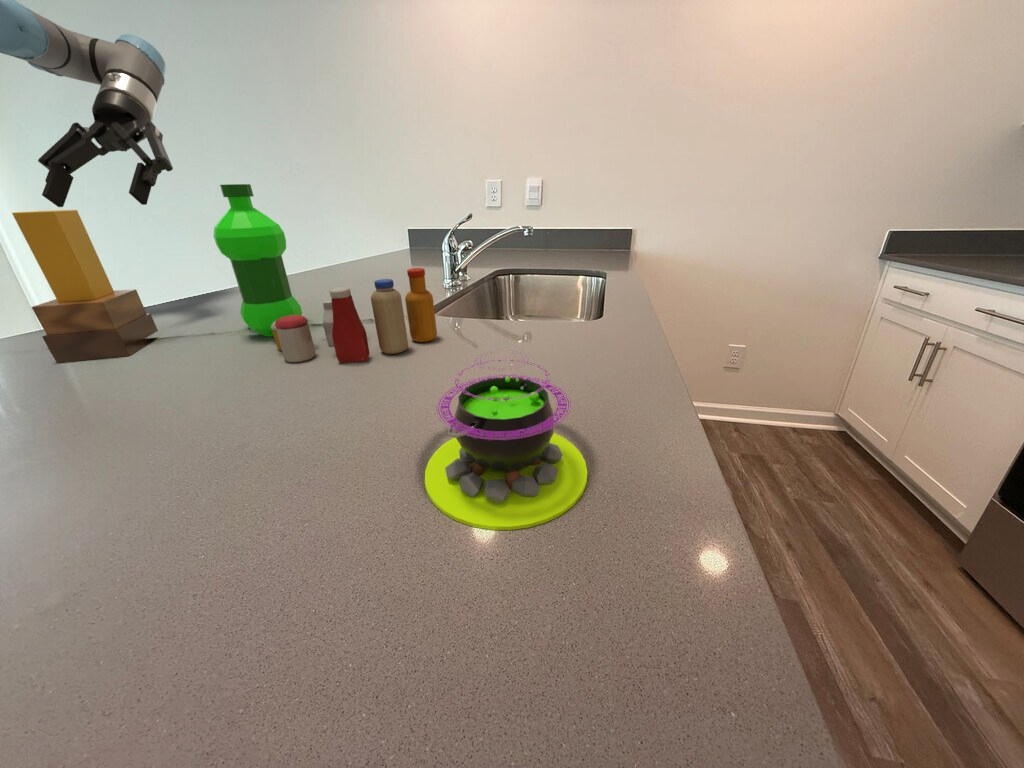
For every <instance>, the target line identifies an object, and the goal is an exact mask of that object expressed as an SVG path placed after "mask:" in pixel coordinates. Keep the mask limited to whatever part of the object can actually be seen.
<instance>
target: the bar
mask: <svg viewBox="0 0 1024 768" xmlns="http://www.w3.org/2000/svg"><path fill="white" fill-rule="evenodd" d="M11 215H12V216H13V218H14V220H15V222H16V224H17V227H18V228H19V229H20V232H21V234H22V235H23V237H24V240H25V241H26V243H27V245H28V247H29V249H30V251H31V253H32V254H33V256H34V258H35V260H36V262H37V264H38V266H39V268H40V270H41V272H42V274H43V276H44V278H45V280H46V282H47V283H48V286H49V288H50V290H51V291H52V293H53V295H54V297H55V299H57V301H58V302H70V301H84V300H96V299H99V298H101V297H104V296H107V295H110V294H112V293H114V291H115V290H114V289H113V286H112V284H111V282H110V280H109V279H110V278H108V275H107V273H106V271H105V269H104V266H103V263H102V262H101V260H100V258H99V255H98V253H97V251H96V248H95V246H94V245H93V242H92V240H91V238H90V236H89V233H88V231H87V229H86V227H85V225H84V222H83V220H82V218H81V216H80V214H79V211H78V210H77V209H63V210H62V209H61V210H59V209H58V210H57V209H56V210H34V211H33V210H32V211H17V212H16V211H15V212H12V213H11Z"/></svg>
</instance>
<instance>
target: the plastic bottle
mask: <svg viewBox="0 0 1024 768" xmlns="http://www.w3.org/2000/svg"><path fill="white" fill-rule="evenodd" d="M219 187H220V190H221V193H222V196H223V198H227V200H228V204H229V207H230V208H229V209H228V210H227V211H226V212H225V214H224V215H223V216H222V217H221V218H220V220H219V221H218V222H217V223H216V225H215V226H214V227H213V239H214V242H215V245H216V247H217V248H218V250H219V253H220V254H222V255H223V256H225V257H226V258H228V259H229V260H230V264H231V268H232V270H233V273H234V277H235V279H236V282H237V283H236V284H237V286H238V290H239V292H240V295H241V298H242V302H241V305H240V315H241V319H242V320H243V322H244V323H245V324H246V326H248V328H249V329H251V330H252V331H254V332H256V333H257V334H259V335H262V336H263V337H270V338H271V337H274V335H273V331H272V329H271V325H272V323H273V322H275V321H276V320H277V319H279V318H281V317H284V316H289V315H301V316H303V315H302V314H303V311H302V307H301V305H300V304H299V302H298V300H297V299H296V298H295V297H294V296H293V294H292V291H291V287H290V282H289V279H288V274H287V271H286V267H285V264H284V260H283V254H284V253H285V251H286V250H287V239H286V235H285V231H284V230H283V229H282V227H281V226H280V224H278V223H277V222H276V221H275V220H273V219H272V218H270V217H269V216H267V215H266V214H265V213H263V212H261V211H260V210H258V209H257V208H255V207H254V206H253V201H252V198H251V197H254V193H253V189H252V185H251V183H244V184H243V183H240V184H239V183H237V184H232V183H231V184H219Z"/></svg>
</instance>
